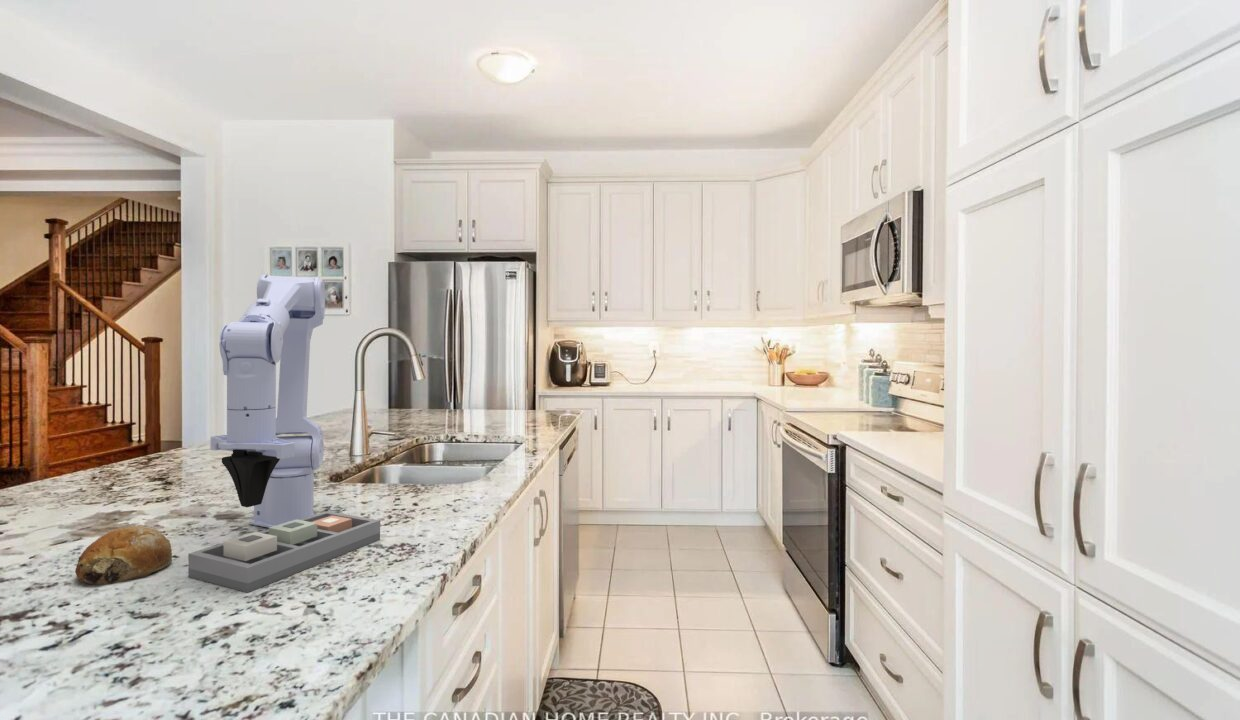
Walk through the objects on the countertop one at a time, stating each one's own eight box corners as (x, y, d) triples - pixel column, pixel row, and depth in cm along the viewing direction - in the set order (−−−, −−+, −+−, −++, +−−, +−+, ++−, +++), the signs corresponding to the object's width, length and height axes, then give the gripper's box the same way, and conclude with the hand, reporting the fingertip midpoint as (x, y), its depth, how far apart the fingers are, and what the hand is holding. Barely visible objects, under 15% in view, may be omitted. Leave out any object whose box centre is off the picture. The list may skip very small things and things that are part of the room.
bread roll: (175, 593, 80) (200, 535, 83) (96, 588, 71) (127, 524, 74) (129, 582, 83) (155, 527, 86) (48, 577, 74) (80, 515, 77)
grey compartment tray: (188, 576, 76) (188, 553, 76) (327, 529, 97) (327, 511, 97) (247, 592, 72) (247, 568, 72) (380, 539, 92) (380, 520, 92)
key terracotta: (307, 535, 89) (307, 522, 89) (331, 527, 93) (331, 514, 93) (328, 539, 87) (328, 526, 87) (351, 531, 92) (352, 518, 92)
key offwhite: (223, 555, 77) (223, 540, 77) (255, 545, 81) (255, 531, 81) (245, 561, 75) (245, 545, 75) (277, 550, 80) (277, 535, 80)
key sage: (268, 541, 83) (268, 527, 83) (296, 532, 87) (296, 518, 87) (290, 545, 81) (290, 531, 81) (317, 536, 86) (317, 522, 86)
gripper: (187, 407, 77) (187, 505, 77) (259, 414, 72) (259, 519, 72) (238, 403, 84) (238, 493, 84) (308, 408, 78) (308, 505, 78)
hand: (251, 505), depth 78 cm, fingers closed
